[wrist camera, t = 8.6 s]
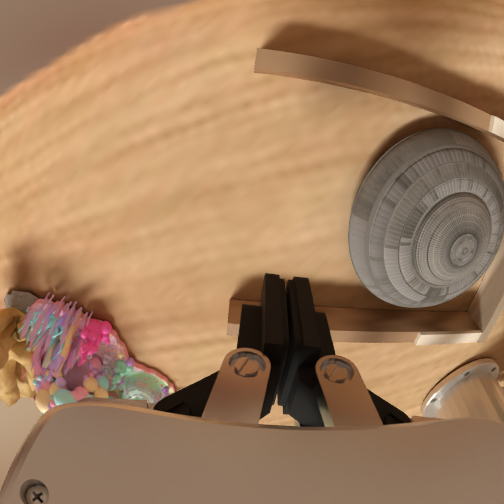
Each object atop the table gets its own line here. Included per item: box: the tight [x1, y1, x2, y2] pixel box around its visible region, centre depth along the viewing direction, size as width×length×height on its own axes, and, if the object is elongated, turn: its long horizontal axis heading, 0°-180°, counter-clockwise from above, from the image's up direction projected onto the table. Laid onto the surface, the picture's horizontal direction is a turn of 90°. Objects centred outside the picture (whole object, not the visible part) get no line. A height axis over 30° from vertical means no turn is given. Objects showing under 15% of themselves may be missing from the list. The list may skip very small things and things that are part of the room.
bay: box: [227, 48, 504, 345], centre depth 21 cm, size 25×19×4 cm
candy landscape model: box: [0, 291, 175, 415], centre depth 27 cm, size 25×24×9 cm
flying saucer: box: [348, 128, 504, 308], centre depth 20 cm, size 15×15×6 cm
